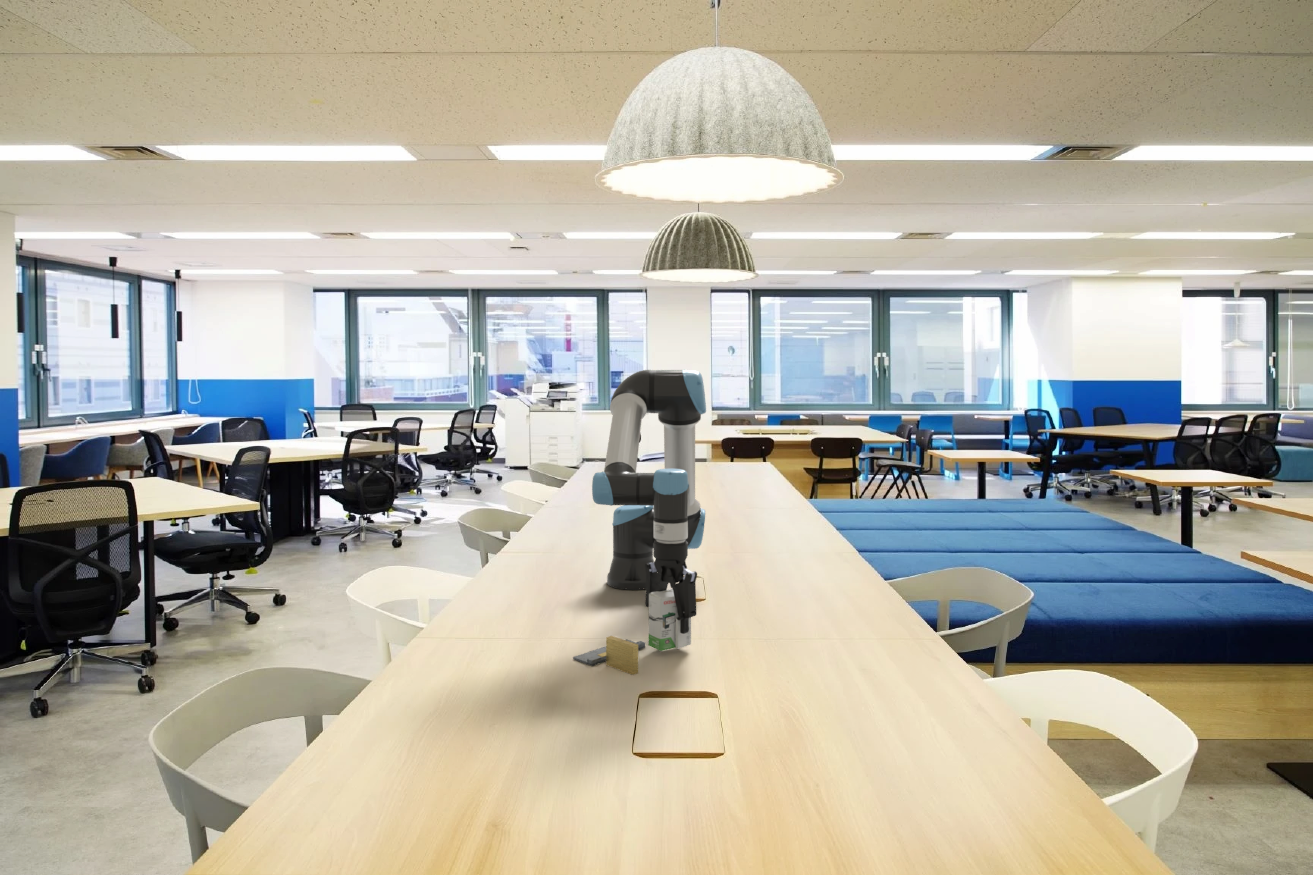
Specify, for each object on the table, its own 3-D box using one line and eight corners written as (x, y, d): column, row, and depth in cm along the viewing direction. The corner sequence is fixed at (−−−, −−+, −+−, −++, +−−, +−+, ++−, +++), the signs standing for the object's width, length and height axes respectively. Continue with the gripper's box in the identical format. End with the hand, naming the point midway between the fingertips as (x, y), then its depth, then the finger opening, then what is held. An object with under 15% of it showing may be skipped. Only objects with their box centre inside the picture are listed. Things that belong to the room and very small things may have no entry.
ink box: (659, 652, 173) (660, 598, 172) (647, 645, 177) (647, 592, 176) (692, 644, 178) (692, 592, 177) (679, 638, 182) (679, 587, 181)
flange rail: (573, 659, 172) (572, 631, 172) (626, 641, 184) (626, 615, 183) (624, 678, 162) (624, 649, 161) (677, 658, 173) (677, 631, 173)
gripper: (628, 536, 179) (628, 637, 181) (691, 549, 166) (690, 658, 168) (651, 531, 185) (651, 630, 186) (714, 543, 172) (713, 649, 173)
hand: (670, 643), depth 177 cm, fingers closed on ink box, 6 cm apart
